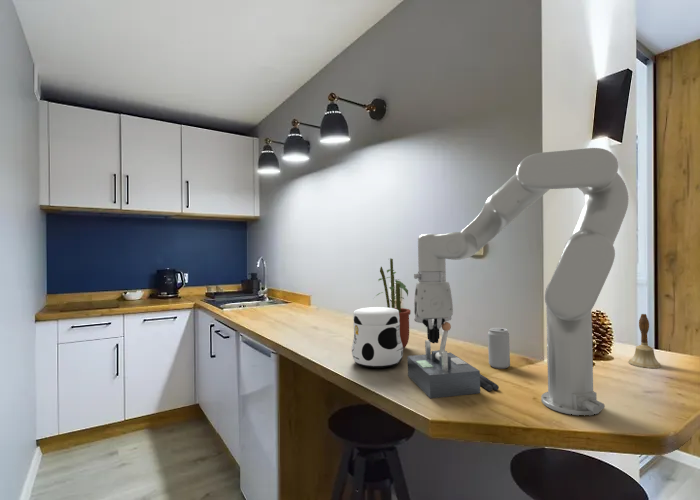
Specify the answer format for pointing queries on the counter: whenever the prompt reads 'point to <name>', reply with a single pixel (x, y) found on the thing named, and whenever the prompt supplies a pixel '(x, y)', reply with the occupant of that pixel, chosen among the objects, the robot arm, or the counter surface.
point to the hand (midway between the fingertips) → (433, 341)
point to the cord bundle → (488, 383)
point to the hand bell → (644, 348)
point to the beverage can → (498, 348)
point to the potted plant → (397, 303)
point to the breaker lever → (443, 338)
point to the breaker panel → (443, 374)
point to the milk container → (377, 337)
